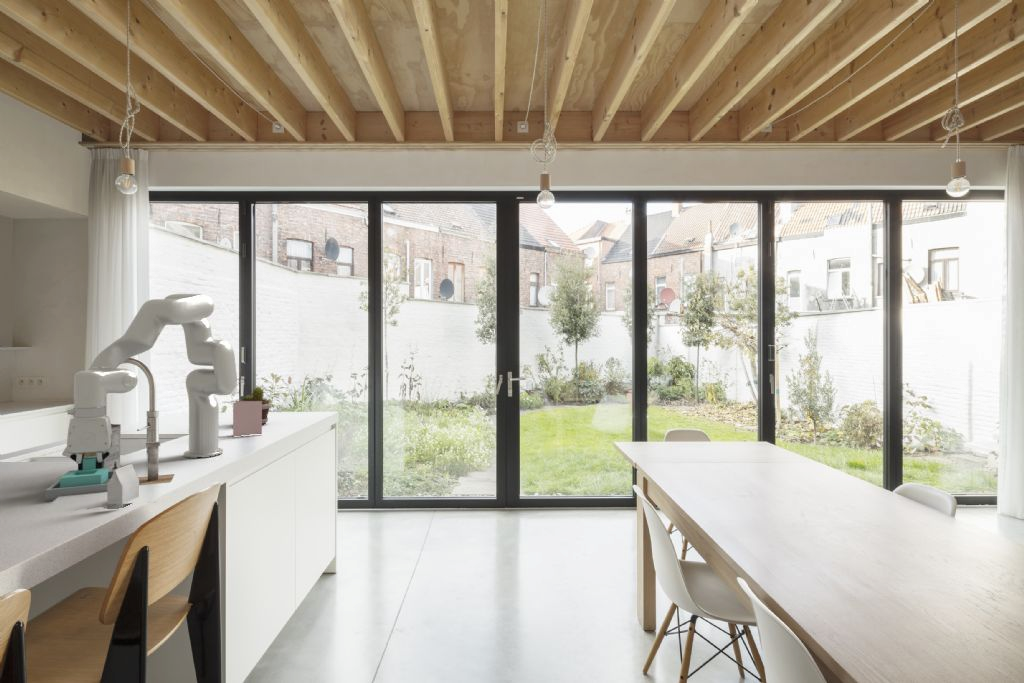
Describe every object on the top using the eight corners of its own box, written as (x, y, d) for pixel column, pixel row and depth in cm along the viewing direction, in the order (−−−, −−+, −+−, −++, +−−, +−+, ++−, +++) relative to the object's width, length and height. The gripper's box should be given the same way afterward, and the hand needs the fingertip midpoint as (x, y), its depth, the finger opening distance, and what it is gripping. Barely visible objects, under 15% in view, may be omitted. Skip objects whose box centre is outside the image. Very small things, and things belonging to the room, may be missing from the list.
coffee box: (76, 478, 167) (76, 426, 167) (94, 473, 174) (94, 422, 174) (104, 479, 166) (104, 427, 166) (121, 474, 173) (121, 423, 173)
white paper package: (138, 501, 147) (139, 463, 146) (122, 509, 140) (122, 470, 140) (124, 501, 146) (124, 463, 146) (107, 509, 140) (107, 470, 139)
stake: (135, 481, 165) (135, 440, 165) (174, 477, 169) (174, 438, 169) (129, 490, 156) (129, 446, 156) (170, 486, 160) (170, 444, 160)
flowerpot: (232, 424, 266) (233, 383, 266) (265, 421, 277) (265, 381, 276) (242, 428, 256) (242, 385, 255) (276, 425, 266) (276, 384, 266)
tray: (64, 485, 160) (64, 474, 160) (122, 480, 166) (122, 470, 166) (45, 501, 145) (45, 490, 145) (109, 495, 151) (109, 484, 151)
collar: (73, 478, 160) (73, 457, 160) (111, 475, 164) (111, 455, 164) (60, 489, 148) (60, 466, 148) (100, 485, 152) (101, 463, 152)
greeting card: (262, 434, 241) (262, 400, 241) (255, 437, 234) (255, 402, 234) (236, 434, 241) (236, 400, 241) (228, 437, 234) (228, 402, 233)
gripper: (50, 416, 153) (51, 482, 153) (121, 413, 160) (121, 475, 160) (59, 412, 159) (59, 475, 160) (126, 409, 166) (126, 470, 167)
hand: (90, 475), depth 160 cm, fingers closed on collar, 2 cm apart
